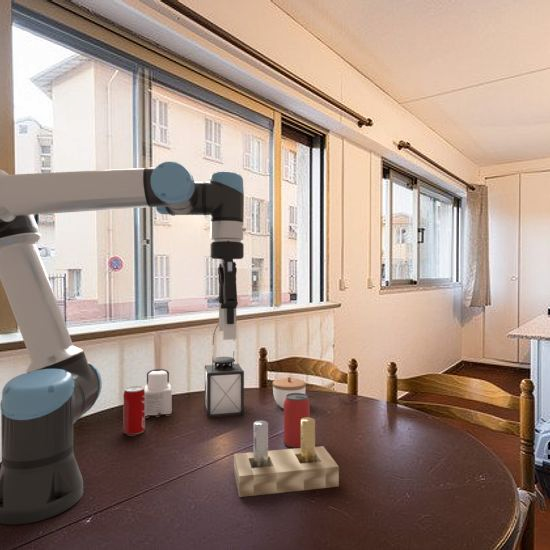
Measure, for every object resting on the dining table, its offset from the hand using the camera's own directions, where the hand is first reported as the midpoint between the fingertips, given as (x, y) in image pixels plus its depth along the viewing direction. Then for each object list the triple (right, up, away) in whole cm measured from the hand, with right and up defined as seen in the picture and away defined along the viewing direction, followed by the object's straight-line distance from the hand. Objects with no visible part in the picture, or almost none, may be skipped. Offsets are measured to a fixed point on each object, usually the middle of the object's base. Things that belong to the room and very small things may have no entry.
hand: (227, 334), depth 94 cm
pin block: (+13, -29, -9) cm, 33 cm away
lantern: (-5, -29, +35) cm, 45 cm away
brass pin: (+18, -29, -8) cm, 35 cm away
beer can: (+16, -29, +9) cm, 35 cm away
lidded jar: (+16, -29, +39) cm, 51 cm away
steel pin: (+8, -29, -10) cm, 31 cm away
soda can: (-27, -29, +17) cm, 43 cm away
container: (-25, -29, +33) cm, 50 cm away
